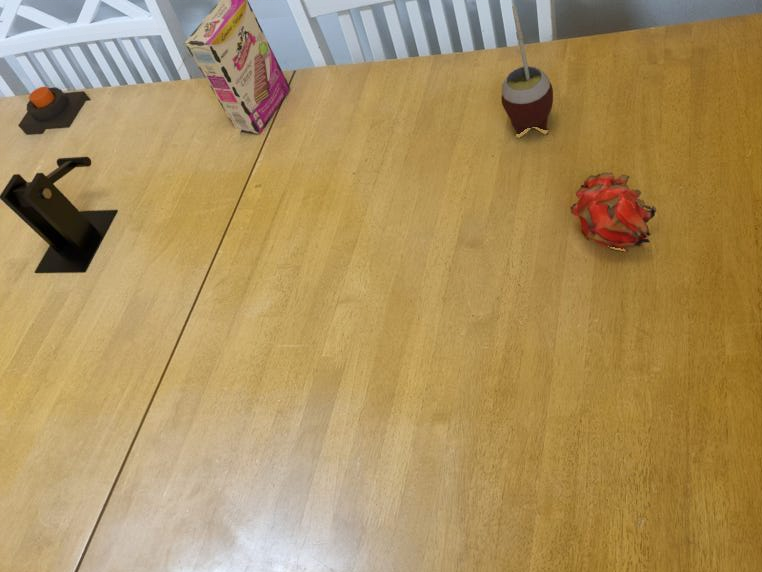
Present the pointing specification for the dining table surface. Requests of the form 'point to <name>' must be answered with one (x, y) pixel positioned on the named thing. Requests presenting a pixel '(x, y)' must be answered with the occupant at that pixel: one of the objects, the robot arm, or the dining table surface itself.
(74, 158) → the switch lever
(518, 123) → the mate gourd
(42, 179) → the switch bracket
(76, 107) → the button box
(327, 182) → the dining table surface
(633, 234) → the dragon fruit
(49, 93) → the power button
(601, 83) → the dining table surface
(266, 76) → the candy bar box
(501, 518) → the dining table surface
